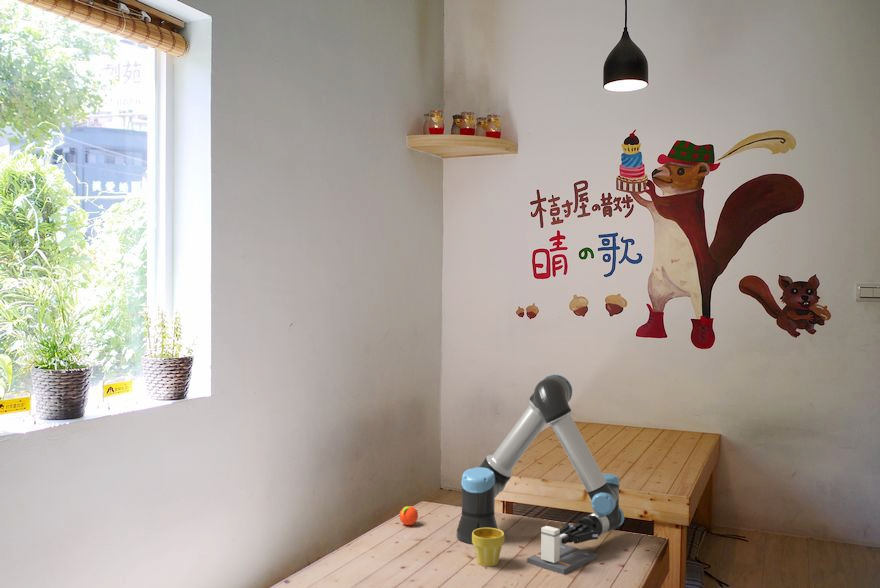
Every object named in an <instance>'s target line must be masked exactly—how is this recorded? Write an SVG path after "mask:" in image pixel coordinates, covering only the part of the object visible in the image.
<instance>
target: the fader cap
mask: <svg viewBox="0 0 880 588" xmlns="http://www.w3.org/2000/svg"><path fill="white" fill-rule="evenodd" d="M540 529H541V530H540V534H541V535H540V539H541V540H540V552H541V559H543V560H546V561H549V562H552V563H555V562H557V561H559V558H560V529H561V528H557V527H553V526H549V525H545V526H542V527H541V528H540Z"/></svg>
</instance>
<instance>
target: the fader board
mask: <svg viewBox="0 0 880 588" xmlns="http://www.w3.org/2000/svg"><path fill="white" fill-rule="evenodd" d="M597 556H598V555H597V553H596V552H592V551H590V550H589V551H588V550H585V549H582V548H579V547H576V546H572V545H569V544H563V545H561V546H560V558H559V561H557V562H555V563H552V562H549V561H546V560H543V559H541V551H540V552H538V553H535V554H533V555H530V556H528V557H527V558H526V559H527V560H526V563H527V564H531V565H535V566H537V567H540V568H543V569H547V570H548V571H553V572H556V573H559V574H561V575H565V574H567V573H569V572H572V571H573V570H575V569H578V568H580V567H581V566H584V565H586V564H588V563H589V562H592V561H594V560H596V559H597Z"/></svg>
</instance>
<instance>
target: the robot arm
mask: <svg viewBox="0 0 880 588" xmlns="http://www.w3.org/2000/svg"><path fill="white" fill-rule="evenodd" d="M572 396H573V386H572V384H571V382H570V381H569V380H568V379H567V378H566V377H565V376H563V375H560V374H550V375H547V376H546V377H544V379H542V380H541V381H539V382H538V383H537V385H536V386H535V388H534V390H533V393H532V395H531V396H530V397H529V400H528V401H529V405H528V407H527V409H525V410H524V412H523V414H522V415H521V416H520V417H519V419H518V420H517V422H516V423H515V425H514V426H513V427H512V429H511V430H510V431H509V432H508V434H507V435H506V437H505V438H504V439H503V440H502V442H501V443H500V445H499V446H498V447H497V449H496V450H495V451H494V453H493V454H488V455H487V456H486V457H485V458H484V460H483V461H482V462H481V463H480V465H479V466H478V467H476V466H475V467H472V468H468V469H466V470H465V471H464V472H463V473H462V477H461V483H460V484H461V515H460V519H459V522H458V525H457V527H456V538H457V540H459V541H461V542H463V543H466V544H471V545H472V544H473V543H472V532H473V531H474V530H475V529H479V528H496V529H499V528H498V524H497V519H496V515H495V500H496V499H495V498H496V497H497V496H498V495H499V494H500V493H501V492H503V490H505V487H506V485H507V483H508V482H509V481H510V479H511V478H512V476H513V468H514V467H515V466H516V464H517V463H518V462H519V460H520V459H521V458H522V456H523V455H524V453H526V451H527V450H528V448H529V447H530V445H531V444H532V443H533V442H534V440H535V439H536V438H537V436H538V435H539V433H541V431H542V429H543V428H544V427H545V425H546V424H547V425H549V426H551V428H552V430H553V432H554V433H555V435H556V437H557V439H558V441H559V443H560V444H561V446H562V448H563V449H564V452H565V454H566V456H567V457H568V459H569V461H570V463H571V465H572V467H573V469H574V471H575V472H576V474H577V476H578V478H579V480H580V481H581V483H582V485H583V487H584V489H585V491H586V493H587V495H588V496H589V499H590V501H591V502H590V503H591V508H592V510H593V511H594V512H593V513H590V514H588V515H585V516H583V517H581V519H580V520H579V521H578V523H573V524H572V525H571V524H569V522H565V523H564V525H563V526H562V527H561V528H559V529H560V546H561V545H563V544H565V545H567V544H569V543H571V544H572V543H573V544H576V545H577V544H580V543H581V544H582V543H584V542H588V541H593V540H598V539H599V537H600V536H602V535H604V534H606V533H609V532H610V531H611V532H612V531H613V530H616V529H618V528H619V527H620V526H622V525H623V523H624V521H625V515H624V512H623V509H621V508H620V503H619V502H620V478H619V476H618V475H616V474H613V473H603V472H602V471H601V469H600V466H599V465H598V463H597V461H596V459H595V457H594V455H593V454H592V452H591V450H590V449H589V447H588V445H587V442H586V441H585V439H584V436H583V435H582V433H581V432H580V430H579V428H578V426H577V424H576V423H575V420H574V419H573V417H572V413H573V411H572V409H571V407H570V404H569V402H570V401H571V399H572ZM473 545H474V544H473Z"/></svg>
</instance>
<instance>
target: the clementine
mask: <svg viewBox="0 0 880 588" xmlns="http://www.w3.org/2000/svg"><path fill="white" fill-rule="evenodd" d="M418 518H419V513H418V510H417V509H416V508H415V507H414V506H412V505H406V506H404V507H403V508H402V509H401V510H400V511H399V520H400V522H401V523H402V524H403V525H405V526H412V525H414V524H416V522H417V521H418Z"/></svg>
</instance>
